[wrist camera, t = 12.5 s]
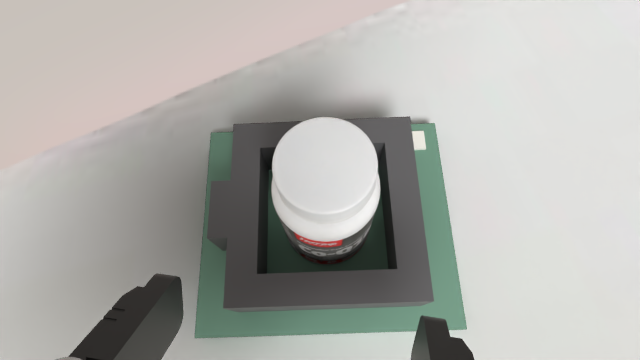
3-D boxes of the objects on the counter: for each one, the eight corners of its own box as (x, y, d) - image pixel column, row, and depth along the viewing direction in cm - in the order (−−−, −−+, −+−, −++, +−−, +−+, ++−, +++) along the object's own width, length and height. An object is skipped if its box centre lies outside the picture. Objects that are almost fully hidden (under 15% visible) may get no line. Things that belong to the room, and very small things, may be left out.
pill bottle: (300, 277, 21) (281, 243, 14) (275, 199, 23) (246, 130, 15) (382, 249, 22) (408, 200, 14) (352, 174, 24) (360, 94, 16)
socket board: (431, 131, 26) (447, 96, 22) (461, 329, 21) (487, 327, 17) (215, 140, 26) (195, 107, 22) (200, 338, 21) (172, 338, 18)
